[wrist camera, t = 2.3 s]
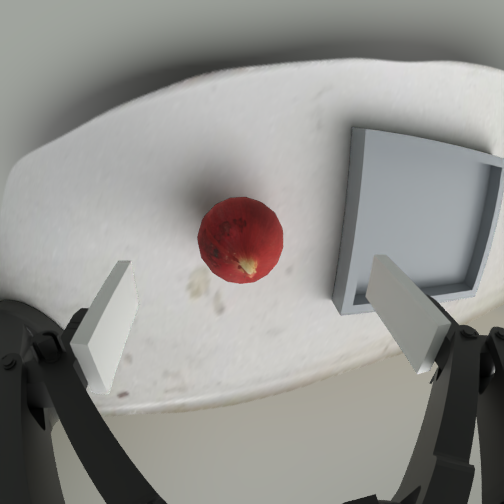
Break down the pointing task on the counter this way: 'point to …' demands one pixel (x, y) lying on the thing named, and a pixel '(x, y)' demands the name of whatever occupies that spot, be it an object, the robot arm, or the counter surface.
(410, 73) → the counter surface
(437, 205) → the tray
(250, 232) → the onion
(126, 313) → the robot arm
